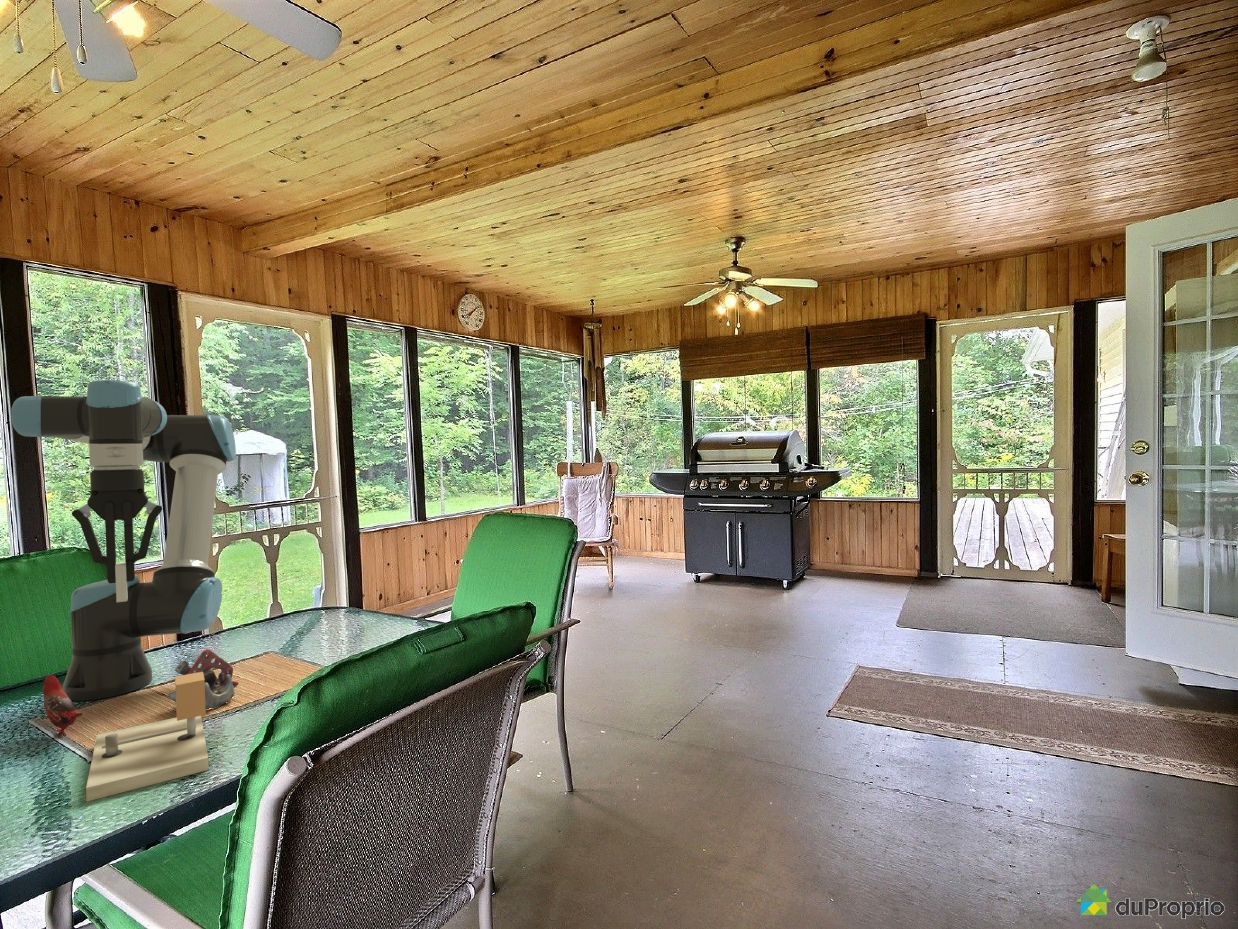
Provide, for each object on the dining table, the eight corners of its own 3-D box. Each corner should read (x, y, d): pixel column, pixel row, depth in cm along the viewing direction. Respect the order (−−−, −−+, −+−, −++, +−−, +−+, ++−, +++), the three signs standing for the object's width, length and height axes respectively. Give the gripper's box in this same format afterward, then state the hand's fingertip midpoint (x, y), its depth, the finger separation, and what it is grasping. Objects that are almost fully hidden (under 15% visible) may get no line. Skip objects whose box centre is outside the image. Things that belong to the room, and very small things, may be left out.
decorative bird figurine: (57, 723, 121) (55, 670, 121) (94, 746, 111) (91, 689, 111) (37, 729, 118) (35, 675, 118) (72, 753, 109) (70, 694, 108)
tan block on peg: (177, 731, 111) (175, 676, 111) (204, 725, 113) (202, 671, 113) (177, 741, 107) (175, 685, 106) (206, 735, 109) (204, 679, 109)
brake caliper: (205, 706, 122) (176, 653, 124) (174, 735, 125) (146, 682, 127) (257, 685, 132) (229, 636, 134) (226, 712, 135) (200, 664, 138)
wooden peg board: (97, 745, 111) (96, 717, 111) (200, 723, 120) (199, 696, 120) (86, 801, 93) (85, 767, 93) (208, 770, 102) (207, 739, 102)
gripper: (66, 470, 107) (72, 610, 108) (162, 467, 115) (167, 598, 115) (71, 469, 113) (76, 602, 114) (162, 466, 121) (166, 591, 121)
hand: (122, 600), depth 114 cm, fingers closed
